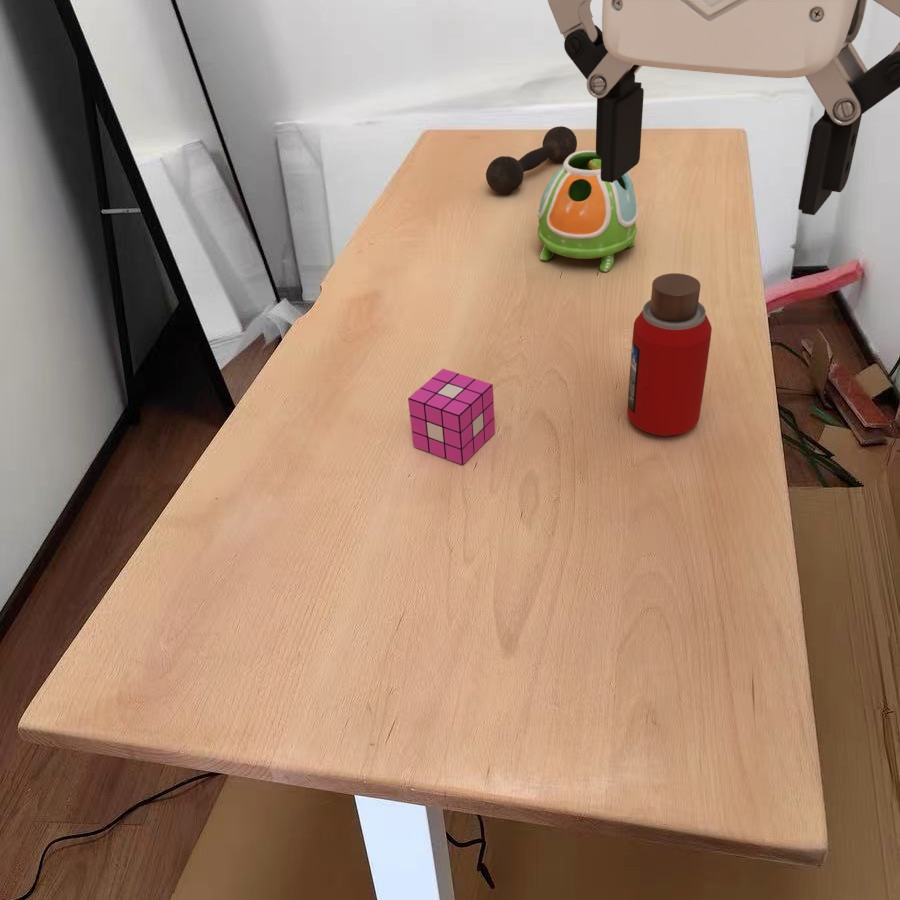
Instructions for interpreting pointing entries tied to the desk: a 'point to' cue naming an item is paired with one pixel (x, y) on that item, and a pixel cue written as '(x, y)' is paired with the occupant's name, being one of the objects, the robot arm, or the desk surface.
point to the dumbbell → (530, 160)
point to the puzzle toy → (452, 415)
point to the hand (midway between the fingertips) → (712, 187)
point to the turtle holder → (586, 212)
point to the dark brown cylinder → (675, 297)
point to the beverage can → (668, 372)
